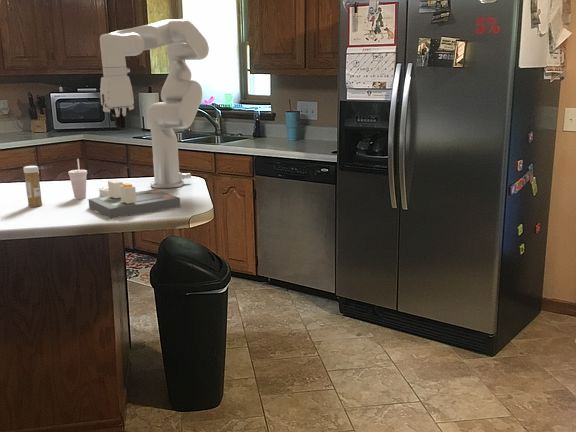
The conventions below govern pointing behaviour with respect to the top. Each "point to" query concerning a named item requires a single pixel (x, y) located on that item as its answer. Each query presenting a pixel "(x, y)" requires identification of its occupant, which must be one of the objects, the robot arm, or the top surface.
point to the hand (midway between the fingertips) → (120, 127)
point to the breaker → (114, 188)
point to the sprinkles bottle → (32, 186)
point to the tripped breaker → (128, 193)
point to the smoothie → (78, 182)
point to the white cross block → (104, 191)
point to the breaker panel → (134, 204)
